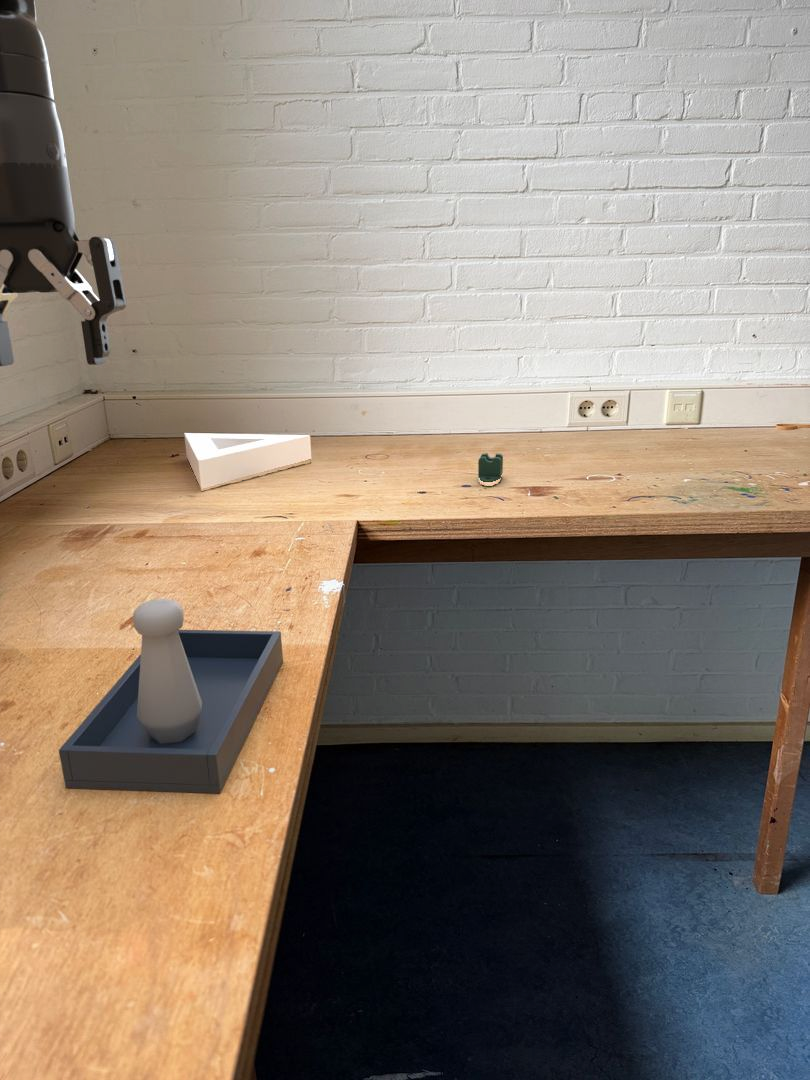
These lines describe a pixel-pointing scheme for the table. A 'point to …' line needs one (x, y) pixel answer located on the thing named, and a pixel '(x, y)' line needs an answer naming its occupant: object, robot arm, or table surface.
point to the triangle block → (241, 454)
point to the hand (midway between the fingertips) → (50, 364)
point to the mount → (490, 467)
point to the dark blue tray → (205, 756)
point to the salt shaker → (165, 674)
